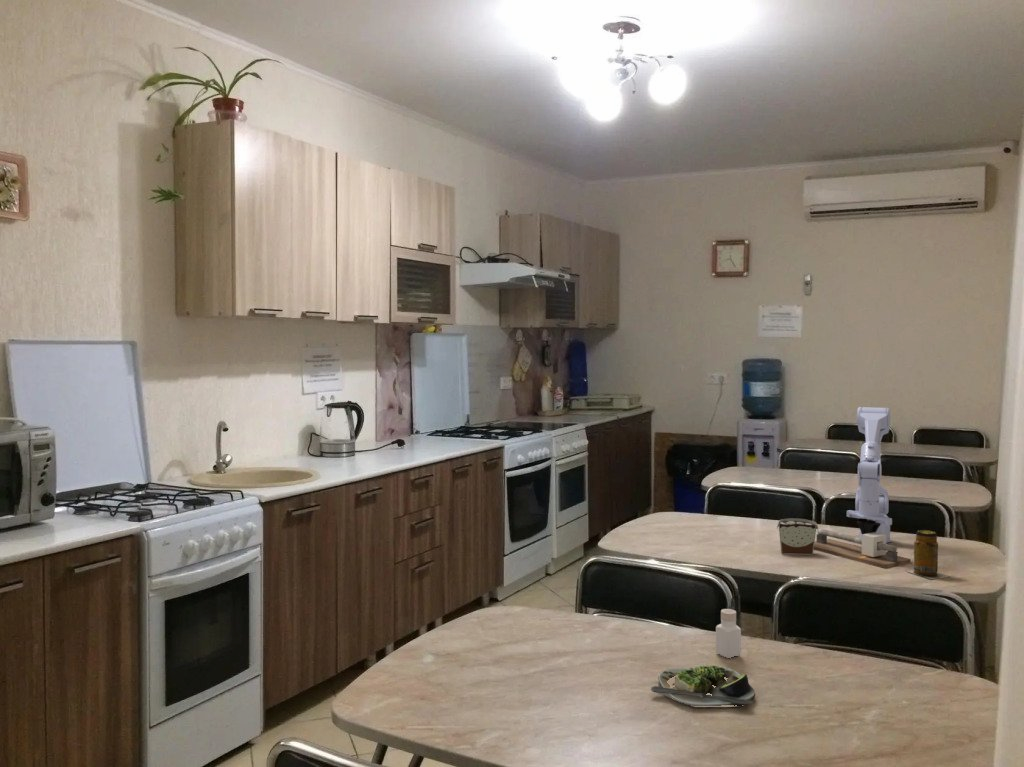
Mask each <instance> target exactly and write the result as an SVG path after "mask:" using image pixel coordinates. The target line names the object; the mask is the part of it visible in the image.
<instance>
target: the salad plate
mask: <svg viewBox="0 0 1024 767" xmlns="http://www.w3.org/2000/svg"><path fill="white" fill-rule="evenodd" d="M674 676H676V677H675V684H674V685H675V687H673V688H670V685H669V684H668V683H667V681H668V680H669V679H670V678H672V677H674ZM724 677H726V678H728V679H727V681H726V680H725V679H724ZM657 679H658V681H659V684H661V685H660V686H654V685H653V686H652V687H651V688H650V690H651V691H652V692H653V693H656V694H659V695H663V696H665V697H667V696H668V697H667V698H669V697H671V698H673V699H674V700H673V701H675V700H676V702H677V701H678V703H680V702H681V703H680V704H682V703H684V704H683V705H685V704H687V705H686V706H688V705H692V706H721V705H734V706H735V705H737V706H741V707H743V706H742V705H745V706H747V705H752V704H754V701H753V700H754V698H755V697H756V691H755V689H754V688H753V687H752V685H750V684H749V683H750V682H749V678H748V675H747V674H746V673H743V674H740V673H739V672H738V671H736V670H734V669H733V668H729V667H726V666H720V665H708V664H707V665H699V666H695V667H694V666H693V667H676V668H667V669H665V670H663V671H662V672H661V673H659V675H658V676H657ZM712 685H714V686H716V687H715V688H714V687H713V686H712ZM661 686H662V687H661ZM707 693H710V694H712V696H711V695H706V694H707ZM692 706H691V707H692Z"/></svg>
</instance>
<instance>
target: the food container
mask: <svg viewBox="0 0 1024 767" xmlns="http://www.w3.org/2000/svg"><path fill="white" fill-rule="evenodd" d="M776 529H778V532H779V533H778V534H779V542H780V554H781V555H799V556H800V555H806V556H808V555H810V556H813V555H814V551H815V550H814V542H815V541H816V540H815V539H816V535H817V534H816V533H817V530H818V529H819V527H818V523H817V522H816V521H813V520H809V519H805V518H782V519H779V520H778V522H777V524H776Z"/></svg>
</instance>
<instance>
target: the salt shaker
mask: <svg viewBox="0 0 1024 767" xmlns="http://www.w3.org/2000/svg"><path fill="white" fill-rule="evenodd" d="M715 653H716V654H717V653H718V654H717V655H719V654H720V655H719V656H721V655H722V656H721V657H723V656H724V657H723V658H725V657H727V658H730V657H734V656H738V657H740V656H741V655H742V628H741V627H740V626H738V625H737V611H736V610H734V609H731V608H722V609H721V610H720V623H719V624H717V625H716V626H715ZM739 655H740V656H739ZM727 658H726V659H727ZM734 658H735V657H734ZM730 659H731V658H730Z"/></svg>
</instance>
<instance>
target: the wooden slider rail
mask: <svg viewBox="0 0 1024 767" xmlns="http://www.w3.org/2000/svg"><path fill="white" fill-rule="evenodd" d="M816 533H817V534H816V540H815V542H814V550H813V551H818V552H821V553H825V554H829V555H833V556H838V557H841V558H845V559H848V560H852V561H855V562H856V561H857V562H860V563H863V564H867V565H871V566H875V567H879V568H881V569H882V568H883V569H888V568H891V567H897V566H900V565H901V566H902V565H906V564H909V563H911V558H908V557H904V556H899V555H898V551H897V550H898V548H897V546H896V545H892V544H891V545H890V544H887V543H886V544H883V543H879V542H877V548H878V549H882V550H886V554H885V555H881V556H876V557H871V556H867V555H863V554H862V546H861V545H862V538H859V537H858V536H853V535H849V534H845V533H841V532H840V533H839V532H836V531H831V530H828V529H823V528H819V527H818V529H816ZM828 537H830V538H828ZM831 538H835V539H831ZM836 539H838V540H836ZM839 540H840V541H839ZM841 540H842V541H841ZM843 541H847V542H843ZM848 542H851V543H854V544H851V543H848ZM855 544H858V545H860V546H858V545H855Z"/></svg>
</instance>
